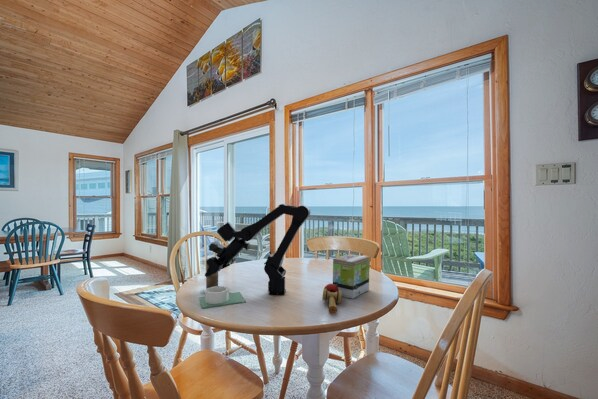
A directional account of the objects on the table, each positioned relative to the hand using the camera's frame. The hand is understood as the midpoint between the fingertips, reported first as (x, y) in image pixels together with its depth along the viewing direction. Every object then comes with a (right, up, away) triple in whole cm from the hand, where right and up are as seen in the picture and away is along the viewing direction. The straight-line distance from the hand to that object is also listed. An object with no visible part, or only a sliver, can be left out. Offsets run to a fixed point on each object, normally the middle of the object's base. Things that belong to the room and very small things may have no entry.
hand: (209, 274), depth 123 cm
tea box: (+61, -7, -5) cm, 62 cm away
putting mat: (+9, -6, -14) cm, 18 cm away
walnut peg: (+1, -7, 0) cm, 7 cm away
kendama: (+51, -7, -19) cm, 55 cm away
